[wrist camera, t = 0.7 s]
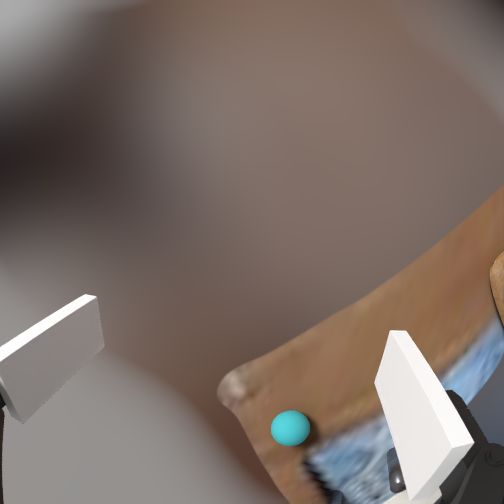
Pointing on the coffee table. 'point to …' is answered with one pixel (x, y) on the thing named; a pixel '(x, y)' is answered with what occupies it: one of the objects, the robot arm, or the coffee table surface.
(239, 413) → the coffee table surface
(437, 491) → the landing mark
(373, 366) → the coffee table surface
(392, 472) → the gate post
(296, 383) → the coffee table surface
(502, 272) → the tan boot-shaped piece
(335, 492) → the gate post
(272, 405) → the coffee table surface
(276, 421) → the ball
